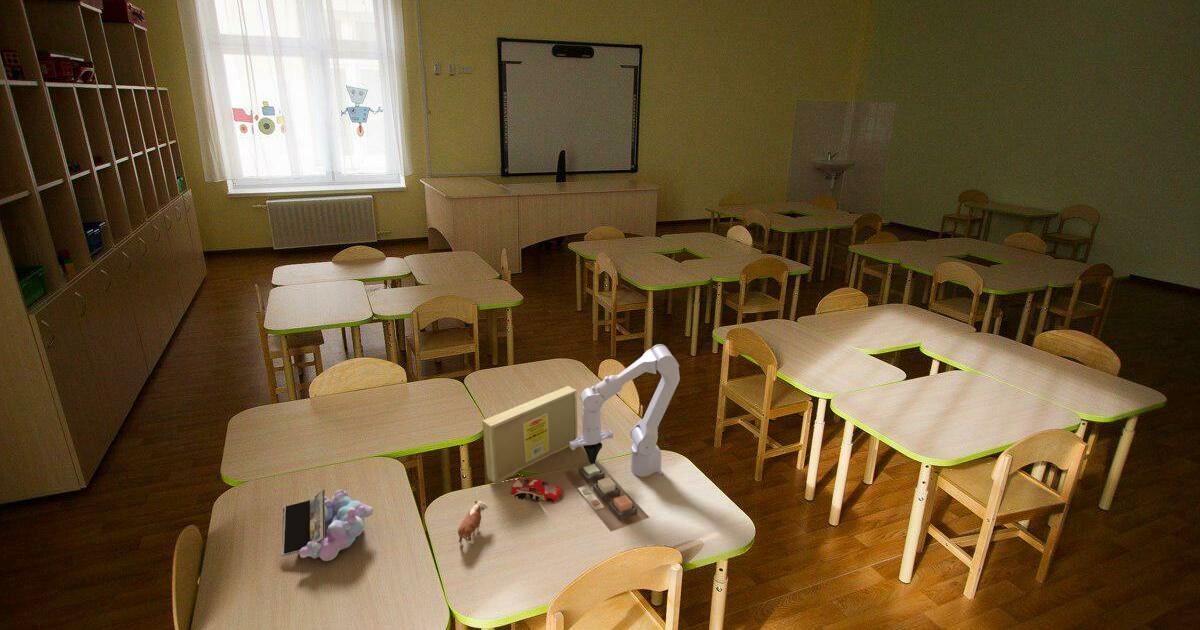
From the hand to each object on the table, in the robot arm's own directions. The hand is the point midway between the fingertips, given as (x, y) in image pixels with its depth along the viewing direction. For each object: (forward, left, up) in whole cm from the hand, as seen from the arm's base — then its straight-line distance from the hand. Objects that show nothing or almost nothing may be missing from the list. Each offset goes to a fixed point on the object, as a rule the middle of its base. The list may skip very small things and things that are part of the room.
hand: (591, 462), depth 203 cm
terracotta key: (0, +20, -4) cm, 20 cm away
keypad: (+1, +10, -6) cm, 12 cm away
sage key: (0, 0, -5) cm, 5 cm away
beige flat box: (+13, -18, -7) cm, 23 cm away
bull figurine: (+42, +8, -6) cm, 43 cm away
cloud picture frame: (+78, -7, -6) cm, 79 cm away
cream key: (0, +10, -4) cm, 11 cm away
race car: (+19, 0, -7) cm, 20 cm away
